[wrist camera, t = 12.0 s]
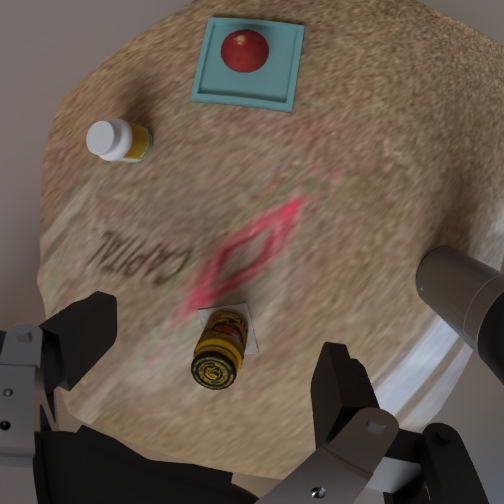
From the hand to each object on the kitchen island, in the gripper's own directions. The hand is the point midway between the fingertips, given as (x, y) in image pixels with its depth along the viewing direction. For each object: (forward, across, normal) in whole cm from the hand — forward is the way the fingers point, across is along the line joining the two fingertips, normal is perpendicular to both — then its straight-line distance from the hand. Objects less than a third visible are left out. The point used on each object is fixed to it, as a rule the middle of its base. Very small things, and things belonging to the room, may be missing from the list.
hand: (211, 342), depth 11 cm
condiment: (+30, +2, +16) cm, 34 cm away
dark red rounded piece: (+29, +6, -21) cm, 37 cm away
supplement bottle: (+30, +19, -8) cm, 36 cm away
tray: (+30, +5, -22) cm, 37 cm away
